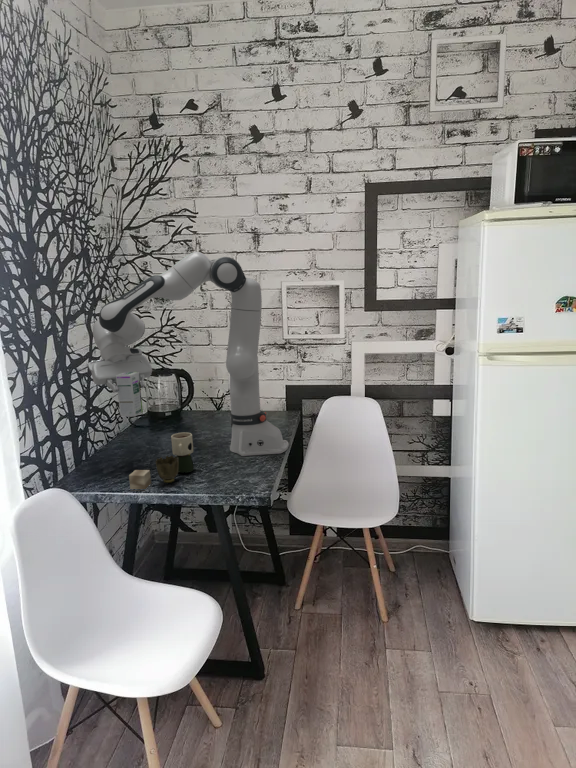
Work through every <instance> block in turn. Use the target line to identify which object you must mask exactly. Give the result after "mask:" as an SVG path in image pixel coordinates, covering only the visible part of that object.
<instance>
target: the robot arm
mask: <svg viewBox="0 0 576 768" xmlns="http://www.w3.org/2000/svg"><path fill="white" fill-rule="evenodd" d="M206 282H210V283H212V284H214V285H215V286H217V287H218V288H221V289H222V290H223V289H224V290H227V291H229V292H230V295H231V305H230V306H231V307H230V319H229V332H228V341H227V349H226V350H227V351H226V359H225V365H226V366H225V367H226V370H227V373H229V399H230V410H231V411H230V417H229V420H230V425H231V426H230V428H231V440H230V446H229V451H230V452H232V453H235V454H238V455H239V456H242V457H245V456H262V455H276V454H282V453H284V452H286V451H287V450H288V449H289V445H290V444H289V442H288V440H286V439H283V434H282V431H281V430H280V429H279V427H277V426H276V425H274V424H273V423H271V422H269V421H268V420H267V412H266V411H265V412H264V411H262V410H261V397H260V379H259V378H260V375H259V371H260V370H259V357H258V354H259V344H260V343H259V341H260V332H261V331H260V330H261V320H262V319H261V318H262V307H263V303H262V302H263V301H262V299H263V298H262V288H261V284H260V283H259V281H257V280H256V279H254V278H250V277H246V275H245V273H244V271H243V268H242V266H241V265H240V263H239V262H238V261H237V260H236V259H234V258H232V257H229V256H221V257H218V258H216V259H210V258H209V257H208V256H207V255H206V254H204V253H202V252H201V251H193V252H191V253H189V254H187V255H186V256H185V257H182V258H181V259H180V260H179V261H177V262H176V263H175V264H174V265H173V266H172V267H170V268H169V269H168V270H166V271H164V272H163V273H161V274H157V275H152V276H150V277H148V278H146V279H145V280H143V281H141V282H140V283H139V284H137V285H136V286H134V287H133V288H132V289H129V291H127V292H126V293H124V294H122V295H121V296H120V297H118V298H116V299H113V300H111V301H109V302H107V303H106V304H104V305H103V306H102V307H101V309H100V311H99V314H98V319H97V320H96V321H95V322H94V323H93V325H92V329H91V331H92V336H93V339H94V343H95V345H96V347H97V348H98V349H99V353H100V357H101V359H98V360H91V361H90V362H88V364H87V368H88V370H89V371H90V372H91V377H92V381H93V383H94V385H96V386H101V385H106V387H108V388H110V389H111V391H112V392H113V394H115V393H118V391H119V388H118V386H117V384H116V385H115V384H114V383H117V382H116V375H119V374H122V373H126V372H139V381H140V389H144V388H145V386H146V385H145V379H146V378H150V377H151V375H152V372H153V367H152V364H151V363H150V361H149V360H148V359H147V357H146V356H145V355H143V351H142V349H140V348H136V347H135V348H134V347H130V345H133V343H134V344H135V343H136V342H138V341H140V340H141V339H142V337H143V336H144V334H145V330H146V325H145V322H144V321H143V320H142V318H140V317H139V316H137V315H136V314H135V313H133V311H134V310H136V309H137V308H139V307H140V306H142V305H143V304H144V303H146V302H147V301H148V300H151V299H154V298H160V299H161V298H162V299H167V300H169V301H181V300H183V299H186V298H187V297H188V296H189V295H191V294H192V293H193V292H194V291H195V290H197V289H198V287H199V286H201V285H202V284H204V283H206ZM128 346H129V347H128Z"/></svg>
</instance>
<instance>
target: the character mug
mask: <svg viewBox="0 0 576 768" xmlns="http://www.w3.org/2000/svg"><path fill="white" fill-rule="evenodd" d="M170 440H171V449H172V451H171V452H172V455H173V456H176V459H177V457H178V458H179V465H178V473H183V474H185V473H191V472H192V471H194V469H195V465H194V462H193V458H192V455H191V454H192V453H194V443H193V434H192V433H191V432H187V431H186V432H178V433H177V432H176V433H173V434H172V435H170ZM184 472H185V473H184Z"/></svg>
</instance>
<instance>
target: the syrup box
mask: <svg viewBox="0 0 576 768" xmlns="http://www.w3.org/2000/svg"><path fill="white" fill-rule="evenodd" d="M140 382H141V381H140V380H139V372H126V373H122V374H119V375H116V382H115V383H116V385H117V386H118V388H119V391H118V392H117V397H118V398H117V399H118V406H119V407H118V408H119V415H120V416H119V417H126V418H127V417H131V418H133V417H137V416H138V415H140V414H143V412H144V410H143V400H142V393H141V388H140Z"/></svg>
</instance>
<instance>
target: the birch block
mask: <svg viewBox="0 0 576 768" xmlns="http://www.w3.org/2000/svg"><path fill="white" fill-rule="evenodd" d="M151 477H152V476H151V469H134V470H133V472H131V473H130V474H129V475H128V481H129V489H146V488H147V487H148V486H149V485H150V484H151V485H152V478H151ZM151 485H150V486H151ZM150 486H149V487H150ZM149 487H148V488H149ZM148 488H147V489H148ZM147 489H146V490H147Z"/></svg>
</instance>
